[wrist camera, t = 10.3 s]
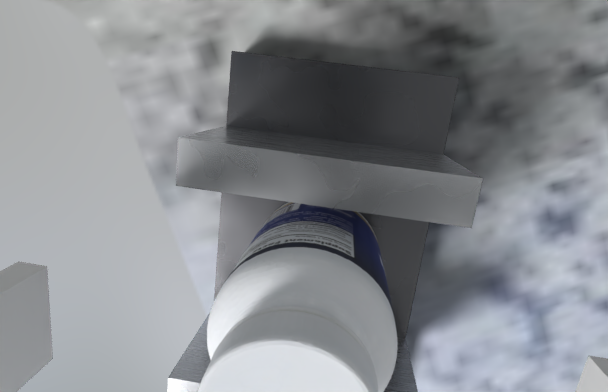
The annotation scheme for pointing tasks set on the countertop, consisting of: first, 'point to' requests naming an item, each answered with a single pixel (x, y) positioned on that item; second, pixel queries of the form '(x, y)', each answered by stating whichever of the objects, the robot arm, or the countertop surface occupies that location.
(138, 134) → the countertop surface
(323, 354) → the pill bottle
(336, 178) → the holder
